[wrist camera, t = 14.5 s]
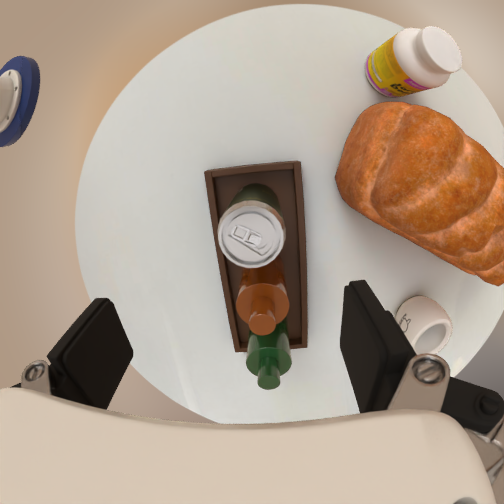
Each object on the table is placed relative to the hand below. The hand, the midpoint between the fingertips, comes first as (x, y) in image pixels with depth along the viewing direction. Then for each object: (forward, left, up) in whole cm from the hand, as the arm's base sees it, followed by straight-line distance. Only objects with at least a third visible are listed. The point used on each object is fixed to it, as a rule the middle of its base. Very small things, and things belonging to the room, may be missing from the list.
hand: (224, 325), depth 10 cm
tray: (+1, -8, -24) cm, 25 cm away
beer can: (0, 0, -23) cm, 23 cm away
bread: (+23, 0, -24) cm, 33 cm away
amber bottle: (+1, -8, -23) cm, 25 cm away
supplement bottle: (+19, +16, -24) cm, 34 cm away
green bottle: (+1, -16, -23) cm, 28 cm away
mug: (+23, -20, -24) cm, 39 cm away
